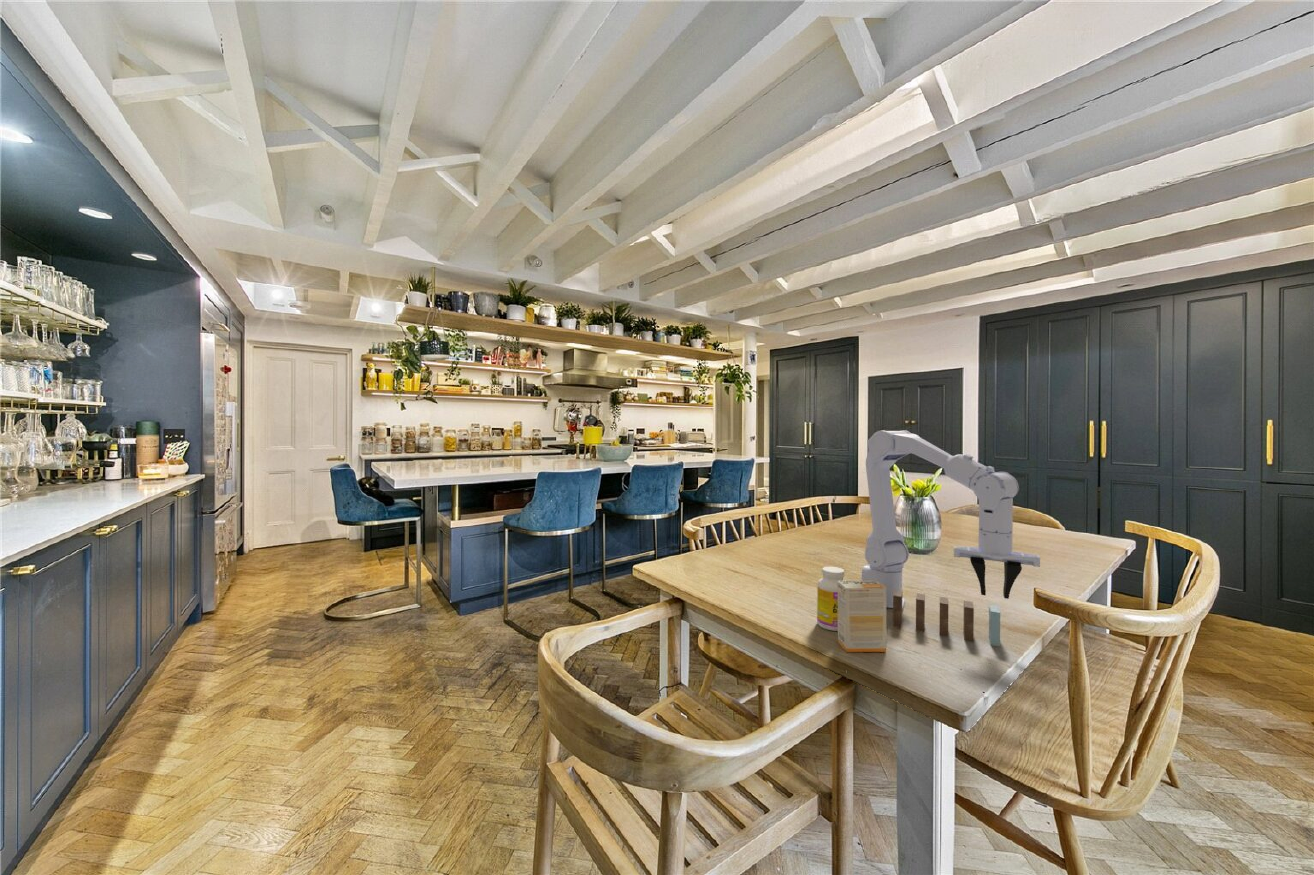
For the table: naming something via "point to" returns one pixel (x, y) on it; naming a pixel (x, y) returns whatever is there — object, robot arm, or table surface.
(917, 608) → the domino
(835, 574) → the supplement bottle
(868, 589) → the supplement box
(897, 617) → the domino
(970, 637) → the domino
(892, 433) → the robot arm
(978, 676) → the table surface
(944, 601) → the domino
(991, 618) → the teal domino
